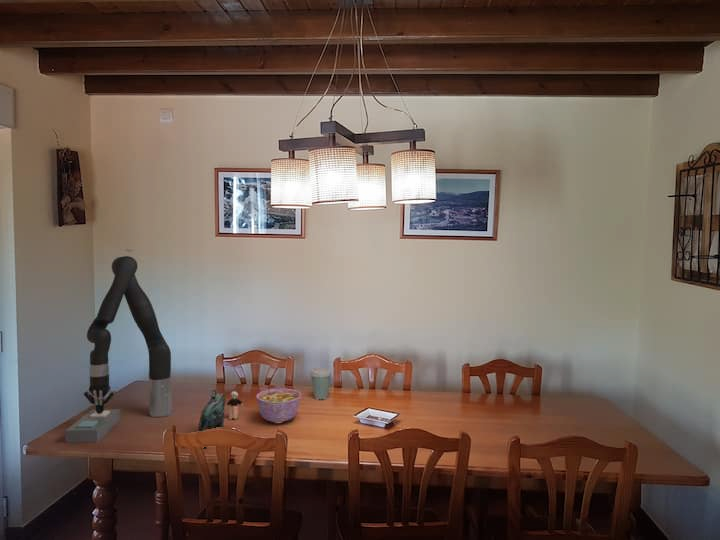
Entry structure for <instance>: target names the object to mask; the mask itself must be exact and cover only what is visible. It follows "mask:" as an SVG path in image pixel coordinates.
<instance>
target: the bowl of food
mask: <svg viewBox="0 0 720 540" xmlns="http://www.w3.org/2000/svg"><path fill="white" fill-rule="evenodd" d="M255 396H256V397H255V398H256V401H257V406H258V410H259V413H260V414H261V417H262V418H263V419H265V420H266V421H268V422H270V421H271V422H270V423H272V422H284V421H286V422H287V421H289V420H292V419H293V418H294V417H295V416H296V414H297V412H298V408H299V405H300V401H301V397H302V394H301V392H300V391H297V390H295V389H292V388H291V389H290V388H270V389H266V390H263V391H260V392H259V393H257V394H256V395H255ZM284 423H285V422H284Z"/></svg>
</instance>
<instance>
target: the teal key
mask: <svg viewBox="0 0 720 540" xmlns="http://www.w3.org/2000/svg"><path fill="white" fill-rule="evenodd" d="M98 423H99V421H83V422H81V423H80V424H79V425H78V426H77V428H93V427H95V426H96V425H97V424H98Z"/></svg>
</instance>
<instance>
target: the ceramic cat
mask: <svg viewBox="0 0 720 540" xmlns="http://www.w3.org/2000/svg"><path fill="white" fill-rule="evenodd" d="M210 393H211V394H210V399H209V401H208V402H207V403H205V405H204V407H203V409H202V411H201V414H200V417H199V423H198V432H199V431H203V430H206V429H212V428H216V427H223V428H225V427H224V426H225V425H224V420H225V406H226V396H225V394H224V393H220V392H219V391H218V390H217V389H213V390H212V391H211V392H210Z"/></svg>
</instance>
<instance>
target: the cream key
mask: <svg viewBox="0 0 720 540" xmlns="http://www.w3.org/2000/svg"><path fill="white" fill-rule="evenodd" d="M108 414H110V411H103V412H102V413H101V414H97V412H96V411H95V412H94V413H93V414H91V415H90V417H106V416H107V415H108Z"/></svg>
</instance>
